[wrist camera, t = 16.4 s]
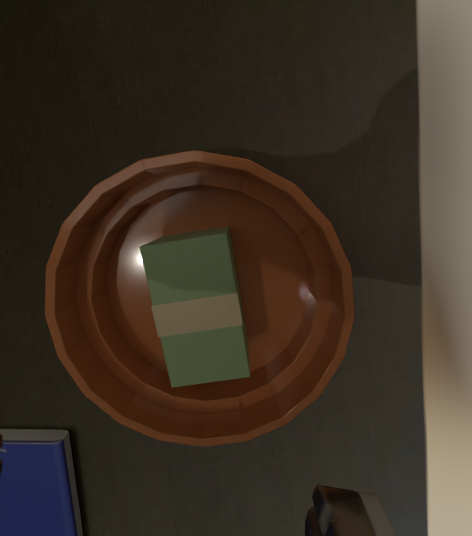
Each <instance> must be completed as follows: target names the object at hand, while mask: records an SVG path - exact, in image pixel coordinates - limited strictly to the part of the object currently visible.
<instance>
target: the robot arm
mask: <svg viewBox="0 0 472 536" xmlns="http://www.w3.org/2000/svg"><path fill="white" fill-rule="evenodd" d="M2 446H3V438H2V435H1V434H0V448H1V447H2ZM2 464H3V461H2V459H1V458H0V475H1V472H2ZM312 498H313V502H314V506H313V507H312V508H310V509H309V510H308V513H307V517H306V521H305V536H396V533H395V531H394V529H393V527H392V525H391V523H390V521H389V519H388V517H387V514H386V512H385V510H384V508H383V506H382V504H381V502H380V500H379V498H378V497H377V496H376V495H375V494H373V493H367V492H360V491H353V490H348V489H341V488H334V487H328V486H321V485H317V486H316V487H315V489H314V492H313V495H312Z"/></svg>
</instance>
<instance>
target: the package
mask: <svg viewBox="0 0 472 536" xmlns="http://www.w3.org/2000/svg"><path fill="white" fill-rule="evenodd" d="M140 252H141V257H142V261H143V265H144V270H145V274H146V278H147V283H148V287H149V291H150V296H151V300H152V306H151V307H152V312H153V316H154V320H155V325H156V329H157V333H158V337H160V339H161V344H162V348H163V352H164V357H165V361H166V365H167V370H168V374H169V378H170V383H171V387H172V388H173V387H180V386H188V385H195V384H202V383H210V382H217V381H224V380H231V379H239V378H246V377H250V360H249V344H248V336H247V330H246V323H245V317H244V311H243V305H242V299H241V293H240V287H239V281H238V274H237V268H236V262H235V256H234V250H233V244H232V238H231V232H230V227H229V226H225V227H219V228H212V229H206V230H200V231H194V232H187V233H181V234H175V235H169V236H162V237H160V238H158V239H156V240H154V241H151V242H149V243H147V244H145V245H143V246H141V247H140Z"/></svg>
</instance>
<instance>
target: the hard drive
mask: <svg viewBox="0 0 472 536" xmlns="http://www.w3.org/2000/svg"><path fill="white" fill-rule="evenodd" d="M0 434H1V435H2V438H3V446H2V447H1V448H0V458H1V459H2V461H3V464H2V472H1V475H0V536H83V530H82V523H81V515H80V508H79V501H78V494H77V487H76V480H75V473H74V465H73V458H72V451H71V444H70V437H69V431H67V430H59V429H0Z"/></svg>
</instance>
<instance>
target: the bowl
mask: <svg viewBox="0 0 472 536" xmlns="http://www.w3.org/2000/svg"><path fill="white" fill-rule="evenodd" d="M225 226H229V227H230V232H231V238H232V244H233V250H234V256H235V262H236V268H237V274H238V281H239V287H240V293H241V299H242V305H243V311H244V317H245V323H246V330H247V336H248V344H249V360H250V377H246V378H239V379H231V380H224V381H217V382H210V383H202V384H195V385H188V386H180V387H173V388H172V387H171V383H170V378H169V374H168V370H167V365H166V361H165V357H164V352H163V348H162V344H161V339H160V337H158V333H157V329H156V325H155V320H154V316H153V312H152V307H151V306H152V300H151V296H150V291H149V287H148V283H147V278H146V274H145V270H144V265H143V261H142V257H141V252H140V247H141V246H143V245H145V244H147V243H149V242H151V241H154V240H156V239H158V238H160V237H162V236H169V235H175V234H181V233H187V232H194V231H200V230H206V229H212V228H219V227H225ZM45 317H46V320H47V323H48V326H49V330H50V333H51V336H52V339H53V342H54V346H55V349H56V352H57V355H58V358H59V359H60V361H61V362H62V364H63V365H64V367H65V368H66V370H67V371H68V372H69V374H70V375H71V377H72V378H73V380H74V381H75V383H76V384H77V385H78V387H79V388H80V390H81V391H82V393H83V394H84V395H85V396H86V397H87V398H88V399H90V400H91V401H92V402H93V403H95V404H96V405H97V406H98V407H100V408H101V409H102V410H103V411H105V412H106V413H107V414H108V415H109V416H111V417H112V418H113V419H114V420H116V421H117V422H118V423H119V424H122V425H124V426H126V427H129V428H131V429H133V430H136V431H138V432H140V433H143V434H145V435H147V436H150V437H152V438H154V439H156V440H160V441H166V442H173V443H180V444H187V445H194V446H201V447H207V446H214V445H222V444H230V443H238V442H246V441H248V440H251V439H253V438H256V437H258V436H260V435H263V434H265V433H267V432H270V431H272V430H274V429H277V428H279V427H281V426H284V425H286V424H287V423H288V422H290V421H291V420H292V419H293V418H294V417H296V416H297V415H298V414H299V413H300V412H302V411H303V410H304V409H305V408H307V407H308V406H309V405H310V404H311V403H313V402H314V401H315V400H316V399H317V398H319V396H320V395H321V394H322V392H323V391H324V389H325V388H326V386H327V385H328V383H329V381H330V380H331V378H332V377H333V375H334V374H335V372H336V371H337V369H338V368H339V366H340V364H341V363H342V361H343V359H344V357H345V353H346V349H347V345H348V341H349V337H350V333H351V329H352V325H353V322H354V318H355V307H354V295H353V283H352V270H351V266H350V264H349V262H348V259H347V257H346V255H345V253H344V250H343V248H342V246H341V243H340V241H339V239H338V237H337V234H336V232H335V230H334V228H333V225H332V223H331V222H330V221H329V219H328V218H327V217H326V216H325V215H324V214H323V213H322V212H321V211H320V210H319V209H318V208H317V207H316V205H315V204H314V203H313V202H312V201H311V200H310V199H309V198H308V197H307V196H306V195H305V194H304V193H303V191H302V190H301V189H300V188H299V187H298V186H297V185H295V184H294V183H292V182H290V181H289V180H287V179H285V178H283V177H281V176H279V175H277V174H276V173H274V172H272V171H270V170H268V169H266V168H264V167H262V166H261V165H259V164H257V163H255V162H253V161H251V160H249V159H246V158H240V157H234V156H228V155H222V154H216V153H209V152H203V151H197V150H195V151H194V150H192V151H186V152H180V153H174V154H169V155H163V156H157V157H151V158H145V159H142V160H139V161H137V162H135V163H134V164H132V165H130V166H128V167H127V168H125V169H123V170H121V171H119V172H118V173H116V174H114V175H112V176H111V177H109V178H107V179H105V180H103V181H102V182H100V183H98V184H97V185H96V186H94V187H93V189H92V190H91V191H90V192H89V193H88V194H87V196H86V197H85V198H84V199H83V200H82V201H81V203H80V204H79V205H78V206H77V207H76V208H75V209H74V211H73V212H72V213H71V214H70V215H69V216H68V218H67V219H66V220H65V221H64V223H63V224H62V226H61V229H60V232H59V234H58V237H57V240H56V242H55V245H54V247H53V250H52V253H51V255H50V258H49V261H48V263H47V266H46V288H45Z"/></svg>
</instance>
